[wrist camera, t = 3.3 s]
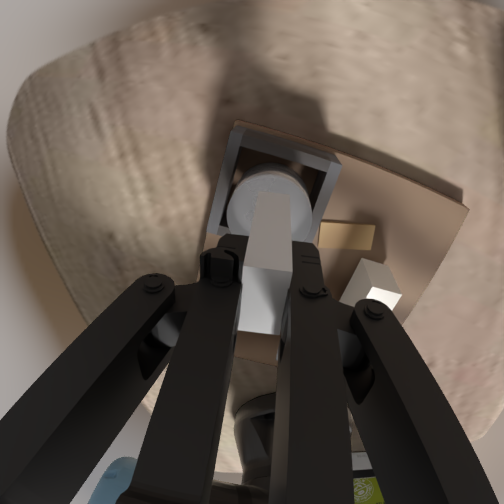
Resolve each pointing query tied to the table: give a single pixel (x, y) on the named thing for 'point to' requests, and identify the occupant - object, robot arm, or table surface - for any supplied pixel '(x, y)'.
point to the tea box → (365, 481)
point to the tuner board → (344, 218)
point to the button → (275, 181)
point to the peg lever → (372, 284)
